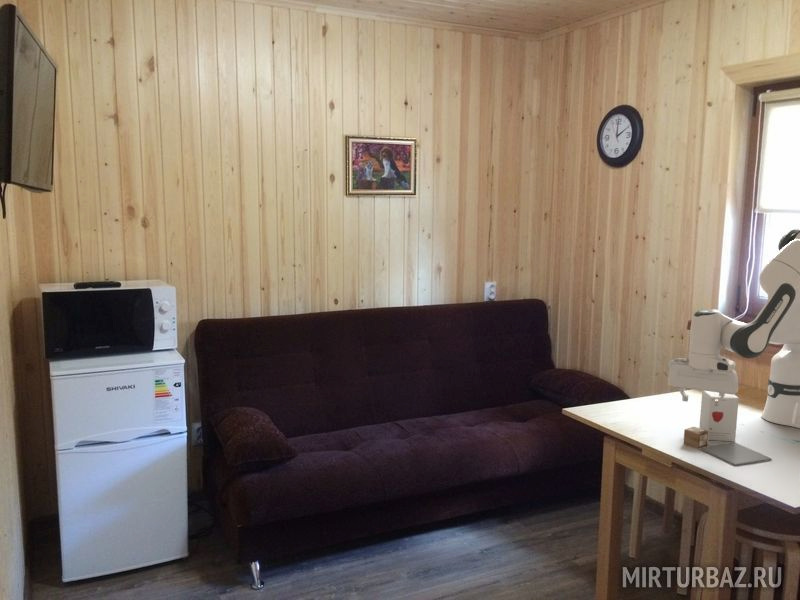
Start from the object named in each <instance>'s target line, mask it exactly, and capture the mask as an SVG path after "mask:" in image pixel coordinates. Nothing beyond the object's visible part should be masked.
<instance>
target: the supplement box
mask: <svg viewBox="0 0 800 600" xmlns="http://www.w3.org/2000/svg"><path fill="white" fill-rule="evenodd" d="M720 397H721V396H719V393H718V392H711V391H704V390H701V401H700V416H699V427H698V428H700V429H703V430H706V431H708V440H707V441H718V442H719V441H723V442H736V437H737V436H736V435H737V433H736V432H737V425H738V424H737V423H738V422H737V421H738V413H739V411H738V410H739V402H740V401H739V399H740V398H739V397H738V396H737V395H736V394H734V395H732V394H725V396H724V397H723V398H722V400H721V402H720V407H719V406H714V404H715V399H717V400H718V399H719V398H720Z"/></svg>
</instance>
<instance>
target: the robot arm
mask: <svg viewBox="0 0 800 600" xmlns="http://www.w3.org/2000/svg"><path fill="white" fill-rule="evenodd" d="M777 249H778V252H777V253H776V254H775V255H774V256H773V257H772V259H770V260H769V262H767V264H766V265H765V267H764V268H763V269H762V271H761V273H760V274H759V285H760V287H761V288H762V290H763V291H764V292H765V294H766V295H767V300H766V302H765V304H764V305H763V306H762V308H761V309H760V311H759V312H758V314H757V315H756V316H755V318H754V319H753V320H752V321H750V322H747V323H745V322H743V321H740V320H736V319H733V318H731V317H729V316H727V315H724V314H723V313H722V312H720V310H718V309H713V308H712V309H711V308H710V309H708V308H706V309H701V310H697V311H696V312H695V313H694V314H693V316H692V319H691V323H690V328H689V329H690V331H689V339H690V345H689V348H688V358H684V357H683V358H679V357H673V358H671V359H669V361H668V365H667V366H668V367H667V368H668V369H669V371H668V378H667V384H668V385H669V386H670V387H676V388H679V389H678V391H679V393H680V395H681V397H682V399H681V400H682V402H685V403H687V402H688V401H689V395H688V394H686V392H685V389H689V390H697V391H702V390H704V391H711V392H718V393H719V396H721V397H720V398H719V399H718V400H717V399H715V404H714V406H719V407H720V402H721V400H722V398H723V397H724V396H725V394H732V395H736V393H738V391H739V377H738V373H737V371H736V369H735V367H736V362H735V361H733V360H731V359H730V358H726V357H724V356H721V354H720V353H721V350H722V349H723V350H727V351H729V352H732V353H734V354H736V355H738V356H740V357H742V358H745V359H754V358H758V357H759V356H761V355H762V354H763V353H764V352H765V351H766V349H767V348H768V346H769V344H773V345H783V346H782V348H781V349H780V350H779V351H778V352H777V353H776V354H774V355H773V356H772V357H771V361H770V371H769V372H770V373H769V378H768V381H767V388H766V389H767V390H766V391H767V396H766V397H767V398H766V400H765V401H766V402H765V405H764V408H763V412H762V413H761V418H762V419H763V420H766V421H768V422H771V423H774V424H778V425H783V426H789V427H793V428H796V429H797V428H798V429H800V228H799V227H793V228H791V229H788V230H787V231H786V232H785V233H784V234H783V235H782V236H781V238H780V239H779V242H778V247H777Z"/></svg>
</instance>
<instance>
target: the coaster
mask: <svg viewBox="0 0 800 600" xmlns="http://www.w3.org/2000/svg"><path fill="white" fill-rule="evenodd" d="M699 450H700V451H703V452H704V453H707V454H708V455H711V456H712V457H715V458H717V459H719V460H722V462H723V461H724V462H725V463H727V464H730V465H731V466H734V467H738V466H739V467H740V466H743V465H750V464H757V463H763V462H769V461H772V460H773V459H772V458H771V457H769V456H766V455H765V454H764V453H763V454H762V453H760V452H759V451H755V450H753V449H751V448H748V447H746V446H744V445H742V444H739V443H737V442H731V443H724V444H723V443H722V444H716V445H709V446H708V445H707V446H705V447H701V448H699Z"/></svg>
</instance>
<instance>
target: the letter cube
mask: <svg viewBox="0 0 800 600" xmlns="http://www.w3.org/2000/svg"><path fill="white" fill-rule="evenodd" d="M683 432H684V433H683V445H685V446H688V447H691V448H693V449H697V450H698V449H699V450H700V448H701V447H708V441H709V440H708V431H706V430H703V429H700V428H699V427H696V426H691V427H688V428H684V431H683Z"/></svg>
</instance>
